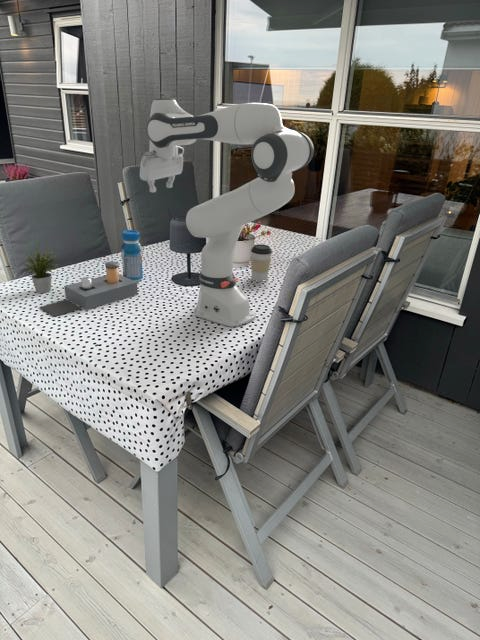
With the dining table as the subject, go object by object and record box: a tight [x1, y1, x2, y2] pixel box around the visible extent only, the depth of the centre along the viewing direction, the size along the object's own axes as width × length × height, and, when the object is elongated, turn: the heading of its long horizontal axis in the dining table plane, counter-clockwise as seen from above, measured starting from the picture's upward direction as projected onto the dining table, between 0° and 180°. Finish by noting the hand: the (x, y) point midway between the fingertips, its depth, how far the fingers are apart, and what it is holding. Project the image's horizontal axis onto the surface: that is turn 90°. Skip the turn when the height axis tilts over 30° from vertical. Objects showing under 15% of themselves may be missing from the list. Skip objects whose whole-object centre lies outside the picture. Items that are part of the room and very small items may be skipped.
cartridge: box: [104, 261, 120, 284], centre depth 170 cm, size 5×5×12 cm
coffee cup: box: [250, 244, 273, 282], centre depth 193 cm, size 9×9×15 cm
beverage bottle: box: [120, 229, 144, 283], centre depth 184 cm, size 8×8×20 cm
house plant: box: [22, 248, 61, 294], centre depth 167 cm, size 14×14×16 cm
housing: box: [64, 274, 139, 311], centre depth 168 cm, size 22×14×5 cm, turn 139°
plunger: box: [80, 276, 93, 291], centre depth 163 cm, size 4×4×6 cm
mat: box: [39, 299, 82, 318], centre depth 157 cm, size 10×10×1 cm
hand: (161, 189), depth 162 cm, fingers open, 8 cm apart
